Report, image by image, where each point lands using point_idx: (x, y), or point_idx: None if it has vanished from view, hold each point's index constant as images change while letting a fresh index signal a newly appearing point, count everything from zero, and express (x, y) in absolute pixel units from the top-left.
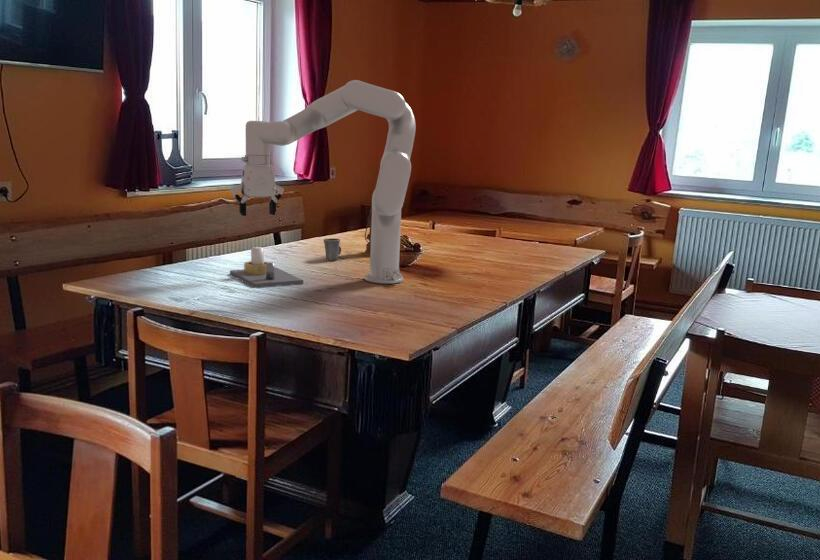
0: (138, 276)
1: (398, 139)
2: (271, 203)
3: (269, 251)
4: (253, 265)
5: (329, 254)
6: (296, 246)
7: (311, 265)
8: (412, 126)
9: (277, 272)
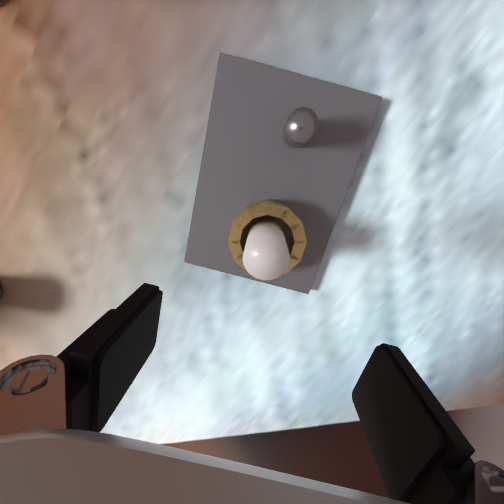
0: (482, 373)
1: None
2: (104, 385)
3: None
4: (298, 220)
5: None
6: None
7: (68, 265)
8: None
9: (220, 203)
